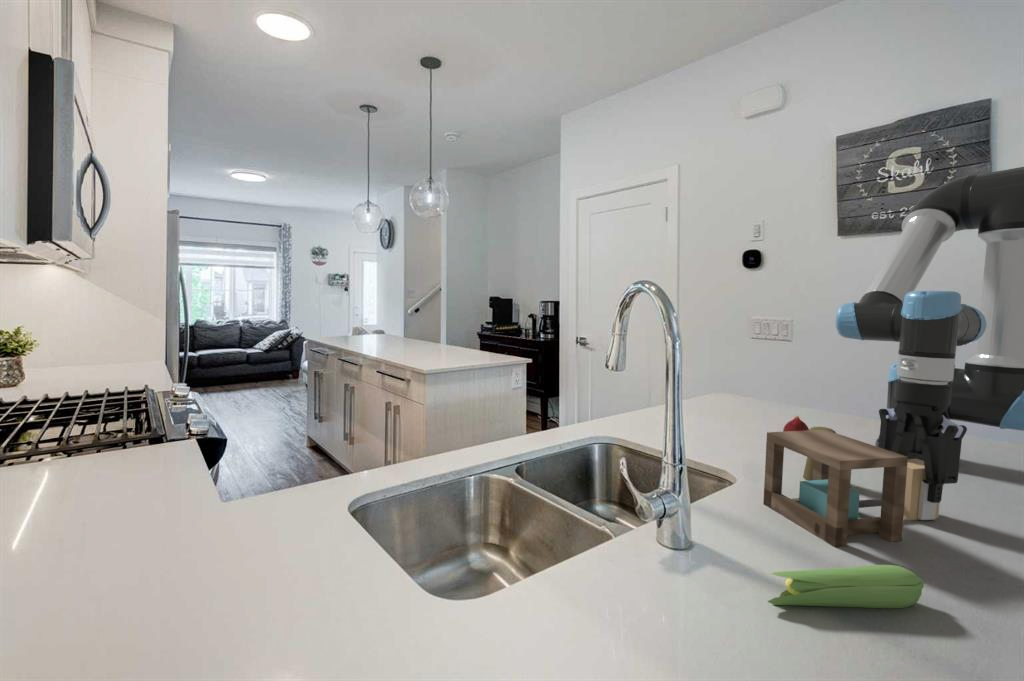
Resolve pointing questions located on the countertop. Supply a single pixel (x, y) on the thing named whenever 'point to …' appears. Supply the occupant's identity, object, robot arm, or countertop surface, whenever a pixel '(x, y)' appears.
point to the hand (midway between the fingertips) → (910, 511)
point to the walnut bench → (836, 484)
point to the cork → (809, 462)
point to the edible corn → (851, 587)
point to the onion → (795, 425)
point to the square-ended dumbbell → (816, 500)
